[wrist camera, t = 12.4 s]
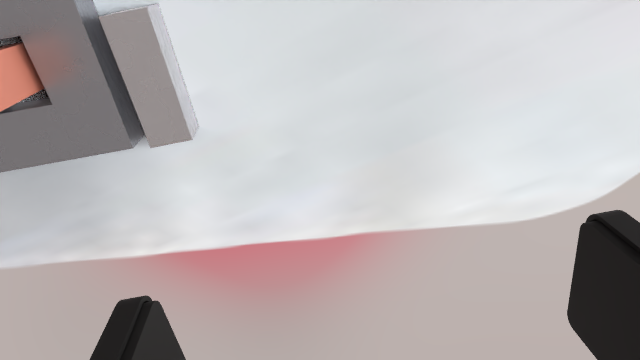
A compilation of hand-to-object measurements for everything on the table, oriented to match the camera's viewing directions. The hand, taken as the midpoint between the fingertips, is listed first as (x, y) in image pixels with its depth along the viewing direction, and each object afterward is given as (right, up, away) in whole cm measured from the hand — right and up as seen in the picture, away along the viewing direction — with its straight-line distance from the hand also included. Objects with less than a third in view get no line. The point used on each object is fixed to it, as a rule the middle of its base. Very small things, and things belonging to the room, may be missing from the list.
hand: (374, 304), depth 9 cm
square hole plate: (-24, +12, +24) cm, 36 cm away
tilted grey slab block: (-14, +12, +25) cm, 31 cm away
